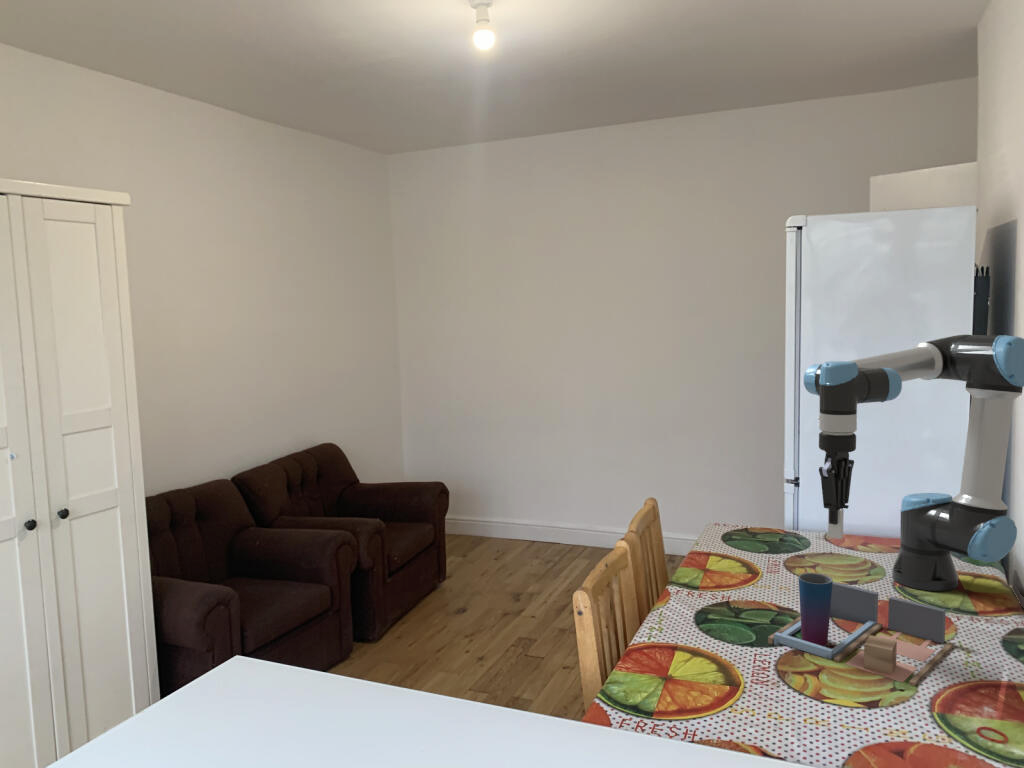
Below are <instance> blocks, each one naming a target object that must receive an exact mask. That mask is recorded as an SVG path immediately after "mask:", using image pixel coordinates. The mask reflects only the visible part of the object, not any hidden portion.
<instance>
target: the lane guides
mask: <svg viewBox="0 0 1024 768" xmlns="http://www.w3.org/2000/svg"><path fill="white" fill-rule="evenodd" d="M799 621H801V615H800V616H798V617H797V618H795V619H793V620H792V621H790V622H789V623H787V624H786V625H784V626H782V627H781V628H780V629H778V630H776V631H775V632H773V633H772V634H770V635H768V637H767V644H769V645H774V634H775V633H776V632H778V633H782V632H784V631H785V630H787V629H789V628H790V627H792V626H793V625H795V624H796V623H798V622H799ZM883 627H884V626H883V623H879V622H878V623H877V624H876V625H875V626H874V627H872V628H871V629H870V630H868V631H867V632H866V633H865V634H863V635H862V636H861V637H860V638H858V639H857V640H856V641H854V642H853V643H852V644H851V645H849V646H848V647H847V648H845V649H844V650H843V651H842V652H840V653H839V654H838V655H837V656H835V657H834V658H833V661H834V662H837V663H839V662H841V661H843V659H845V658H846V657H847V656H849V654H851V653H852V652H854V650H856V649H857V648H859V647H860V646H861V645H862V644H863V643H865V642H866V641H867V639H868V637H869V635H872V636H874V635H875V633H878V631H879V630H881V629H883ZM954 646H955V643H953V642H950V641H948V642H947V643H946V644H945V645H944V646H943V647H942V648H941V649H940V650H939V651H938V652H937V653H935V655H933V657H932V658H931V659H930V660H929V661H927V662H926V664H925V665H924V666H923V667H922V668H920V670H919V671H917V673H915V675H913V676H912V678H911V679H910V680H909V681H908V685H910V686H914V687H915V686H916V685H917V684H919V683H920V681H921V680H922V679H924V677H926V675H928V673H929V672H930V671H932V669H933V668H934V667H935V666H936V665H937V664H938V663H939V662H940V661H941V660H942V659H943V658H944V657H945V656H946V655H947V654H948V653H949V652H950V651H951V650H952V649H953V648H954Z"/></svg>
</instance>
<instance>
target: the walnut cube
mask: <svg viewBox="0 0 1024 768" xmlns="http://www.w3.org/2000/svg"><path fill="white" fill-rule="evenodd" d="M863 651H864V669H869V670H873V671H877V672H881V673H885V674H890V675H892V673H893V671H894V669H895V666H896V661H897V655H898V654H897V641H895V640H890V639H886V638H881V637H879V636H876V635H869V637H868V639H867V640H866V641H865V642H864V645H863Z"/></svg>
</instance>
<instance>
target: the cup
mask: <svg viewBox="0 0 1024 768" xmlns="http://www.w3.org/2000/svg"><path fill="white" fill-rule="evenodd" d="M833 582H834V581H833V578H832V577H831V576H829V575H827V574H824V573H817V572H804V573H800V574H799V575H798V591H799V593H798V595H799V609H800V611H799V612H800V616H801V629H800V630H801V640H804V641H807V642H811V643H814V644H817V645H820V646H824V647H826V646H827V645H828V639H829V631H830V630H829V628H830V620H831V619H830V617H831V616H830V607H831V595H832V583H833Z"/></svg>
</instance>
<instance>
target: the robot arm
mask: <svg viewBox="0 0 1024 768" xmlns="http://www.w3.org/2000/svg"><path fill="white" fill-rule="evenodd" d="M916 379H921V380H924V381H931V380H936V379H937V380H939V379H940V380H941V379H942V380H950V381H953V380H954V381H960V382H965V390H966V391H967V392H968V394H969V395H970V397H971V400H970V401H971V402H970V407H969V415H968V425H967V433H966V441H965V450H964V456H963V465H962V466H963V467H962V473H961V481H960V490H959V494H957V495H956V496H954V497H953V496H952V495H950V494H948V493H941V492H940V493H939V492H919V493H911V494H906V495H905V496H904V497H903V498H902V500H901V506H900V510H899V511H900V539H899V541H900V547H899V551H898V554H897V557H896V559H895V561H894V564H893V566H892V573H891V574H892V575H891V576H892V577H891V578H892V579H893V580H894V581H895V582H896V583H898V584H900V585H902V586H905V587H908V588H912V589H917V590H922V591H932V592H945V591H952V590H954V589H956V588H957V587H958V586H959V585H958V584H959V576H958V572H957V570H956V566H955V563H954V560H953V557H952V552H953V553H956V554H959V555H962V556H965V557H968V558H970V559H972V560H974V561H975V560H977V561H981V562H982V561H983V562H986V563H994V562H995V563H997V562H998V561H1001V560H1002V559H1003V558H1005V557H1006V556H1007V555H1008V554H1009V553H1010V552H1011V551H1012V549H1013V547H1014V545H1015V543H1016V540H1017V535H1018V528H1017V525H1016V523H1015V520H1013V519H1012V518H1011V517H1009V516H1008V509H1009V508H1008V505H1006V504H1005V502H1004V501H1003V500H1002V495H1003V487H1004V479H1005V472H1006V462H1007V454H1008V447H1009V439H1010V430H1011V424H1012V423H1011V422H1012V416H1013V407H1014V401H1015V400H1016V399H1017V398H1018V397H1020V396H1022V395H1023V389H1024V338H1023V337H1020V336H1012V335H1006V334H1004V335H1000V334H999V335H998V334H997V335H996V334H995V335H994V334H993V335H992V334H991V335H989V334H986V335H985V334H982V335H981V334H978V335H977V334H959V335H952V336H948V337H946V336H945V337H942V338H938V339H934V340H928V341H924V342H920V343H918V344H916V345H915V346H913V347H912V348H911V349H904V350H900V351H895V352H889V353H884V354H879V355H874V356H869V357H864V358H858V359H853V360H848V361H846V360H845V361H844V360H843V361H842V360H841V361H839V360H838V361H837V360H836V361H832V360H831V361H825V362H823V363H819V364H818V363H817V364H812V365H810V366H809V367H807V369H806V370H805V372H804V374H803V386H804V388H805V391H807V392H808V393H810V394H811V395H816V396H819V415H818V416H817V420H819V422H818V423H819V425H818V426H819V430H820V432H819V433H818V448H819V449H820V450H821V451H823V452H825V456H824V462H823V463H824V464H823V465H824V466H820V467H818V472H819V476H820V482H821V483H820V484H821V491H822V492H821V494H822V503H823V504H822V505H823V508H824V509H827V510H828V511H827V512H828V513H827V514H828V515H827V516H828V518H827V521H828V523H827V525H828V527H827V538H832V539H838V540H842V539H843V538H844V512H845V511H844V509H846V510H847V509H849V505H846V504H849V502H850V501H849V499H850V492H851V482H852V474H853V473H852V472H853V469H854V465H855V460H854V459H850V453H853V452H855V450H856V449H857V435H856V433H855V432H857V430H858V426H857V425H858V423H857V422H858V421H857V418H858V416H857V415H858V405H859V404H866V403H867V404H869V403H884V402H888V401H893V400H895V399H896V398H898V397H899V396H900V394H901V392H902V390H903V389H902V387H903V382H906V381H913V380H916Z"/></svg>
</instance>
